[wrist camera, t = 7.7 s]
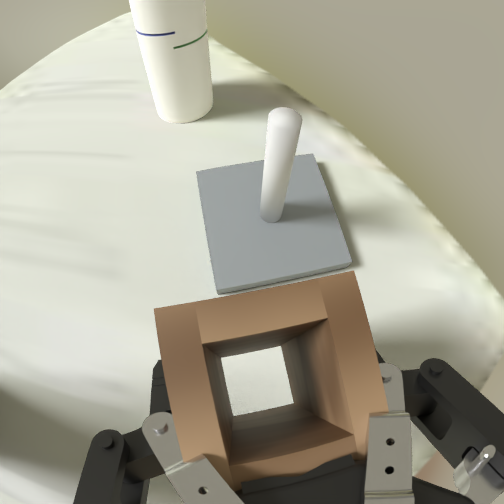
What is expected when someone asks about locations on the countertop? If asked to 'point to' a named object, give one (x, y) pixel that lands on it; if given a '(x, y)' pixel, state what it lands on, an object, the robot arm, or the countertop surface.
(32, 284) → the countertop surface
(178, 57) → the cylindrical container
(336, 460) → the robot arm
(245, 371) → the countertop surface
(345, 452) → the collar
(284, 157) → the post stand
